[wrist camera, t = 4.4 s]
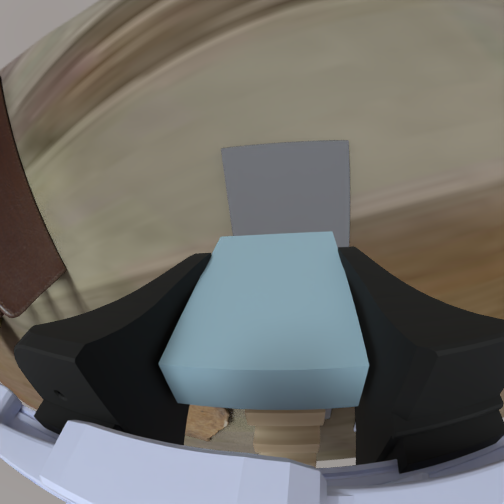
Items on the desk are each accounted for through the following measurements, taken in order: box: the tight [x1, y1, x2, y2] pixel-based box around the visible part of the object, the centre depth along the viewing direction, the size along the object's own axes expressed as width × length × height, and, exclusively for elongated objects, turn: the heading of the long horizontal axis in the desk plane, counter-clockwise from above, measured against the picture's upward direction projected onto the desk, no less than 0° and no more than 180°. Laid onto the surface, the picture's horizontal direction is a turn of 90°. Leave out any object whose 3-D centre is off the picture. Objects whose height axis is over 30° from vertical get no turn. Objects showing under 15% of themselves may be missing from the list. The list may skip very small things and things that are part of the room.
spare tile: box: [158, 231, 369, 410], centre depth 9 cm, size 2×5×7 cm, turn 96°
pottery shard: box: [185, 405, 230, 441], centre depth 28 cm, size 8×16×2 cm, turn 157°
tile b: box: [245, 409, 325, 426], centre depth 18 cm, size 2×5×7 cm, turn 96°
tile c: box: [253, 425, 320, 453], centre depth 20 cm, size 2×5×7 cm, turn 96°
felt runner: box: [221, 140, 350, 419], centre depth 21 cm, size 7×26×1 cm, turn 6°
